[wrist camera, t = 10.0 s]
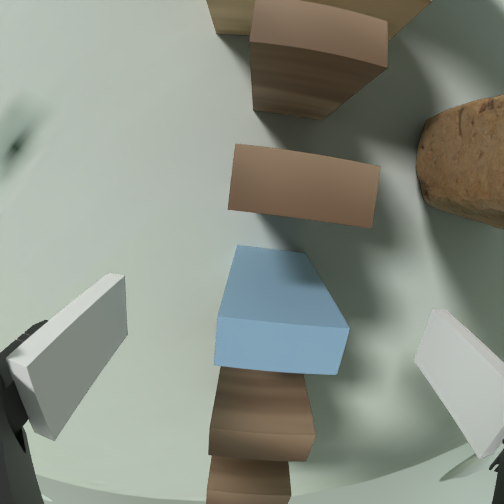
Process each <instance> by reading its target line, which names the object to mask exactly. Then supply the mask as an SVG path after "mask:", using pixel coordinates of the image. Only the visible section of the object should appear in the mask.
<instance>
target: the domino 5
mask: <svg viewBox="0 0 504 504" xmlns="http://www.w3.org/2000/svg"><path fill="white" fill-rule="evenodd" d="M290 497H291V486H290V475H289V464H288V461H267V460H252V459H240V458H230V457H221V456H213V455H212V459H211V465H210V472H209V479H208V485H207V499H206V504H288V502H289V500H290Z"/></svg>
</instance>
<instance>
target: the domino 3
mask: <svg viewBox="0 0 504 504" xmlns="http://www.w3.org/2000/svg"><path fill="white" fill-rule="evenodd" d="M349 330H350V328H349V326H348V324H347V322H346V321H345V319H344V317H343V316H342V314H341V312H340V310H339V309H338V307H337V305H336V304H335V302H334V300H333V299H332V297H331V295H330V293H329V292H328V290H327V288H326V287H325V285H324V283H323V282H322V280H321V278H320V277H319V275H318V273H317V272H316V270H315V269H314V267H313V265H312V264H311V262H310V260H309V259H308V257H307V255H306V254H305V253H300V252H292V251H283V250H275V249H266V248H258V247H249V246H241V245H237V248H236V252H235V255H234V259H233V262H232V266H231V270H230V273H229V277H228V280H227V284H226V288H225V291H224V295H223V299H222V302H221V306H220V309H219V313H218V318H217V331H216V343H215V357H214V365H217V366H225V367H233V368H242V369H252V370H262V371H274V372H287V373H303V374H324V375H337V372H338V369H339V366H340V362H341V359H342V356H343V352H344V349H345V345H346V341H347V338H348V334H349Z"/></svg>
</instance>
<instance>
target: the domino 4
mask: <svg viewBox="0 0 504 504" xmlns="http://www.w3.org/2000/svg"><path fill="white" fill-rule="evenodd" d="M315 437H316V432H315V427H314V422H313V417H312V413H311V408H310V403H309V398H308V394H307V389H306V384H305V380H304V375H303V373H287V372H274V371H262V370H252V369H242V368H233V367H225V366H221V368H220V374H219V379H218V385H217V390H216V396H215V401H214V407H213V412H212V418H211V424H210V432H209V451H208V455H213V456H221V457H230V458H240V459H252V460H267V461H306V460H307V458H308V455H309V453H310V450H311V447H312V445H313V442H314V440H315Z"/></svg>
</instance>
